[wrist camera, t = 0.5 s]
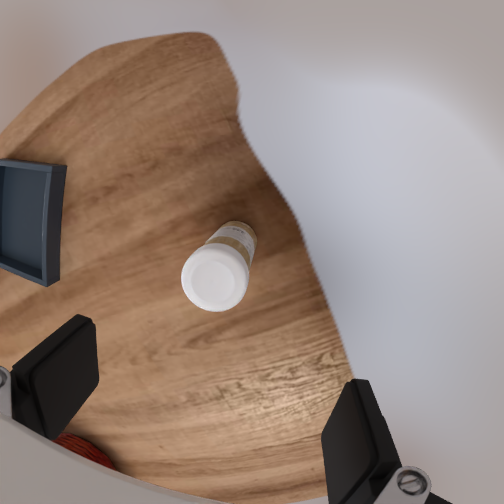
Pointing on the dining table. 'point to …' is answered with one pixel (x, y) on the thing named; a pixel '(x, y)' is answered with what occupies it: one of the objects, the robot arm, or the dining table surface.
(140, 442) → the dining table surface
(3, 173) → the tray
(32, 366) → the robot arm
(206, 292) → the sprinkles bottle
